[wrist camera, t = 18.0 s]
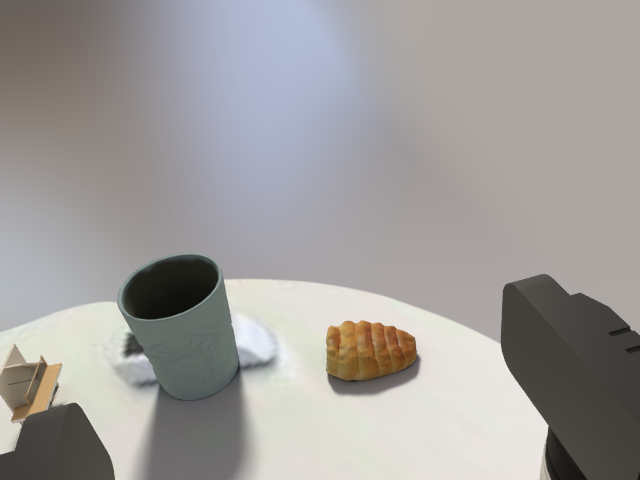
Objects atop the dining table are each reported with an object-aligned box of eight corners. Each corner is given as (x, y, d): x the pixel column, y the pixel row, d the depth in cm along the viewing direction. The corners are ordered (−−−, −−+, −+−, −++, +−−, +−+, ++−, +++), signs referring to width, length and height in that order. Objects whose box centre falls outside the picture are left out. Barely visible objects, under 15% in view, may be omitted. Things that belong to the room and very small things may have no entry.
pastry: (413, 332, 59) (411, 306, 57) (420, 381, 53) (419, 353, 51) (327, 339, 60) (322, 313, 58) (326, 387, 54) (321, 361, 52)
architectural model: (75, 385, 60) (47, 336, 55) (59, 437, 54) (26, 387, 50) (43, 391, 59) (13, 343, 55) (24, 445, 54) (-11, 395, 50)
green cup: (199, 326, 64) (171, 243, 58) (267, 353, 59) (243, 265, 52) (135, 387, 57) (93, 301, 51) (204, 423, 52) (168, 332, 46)
